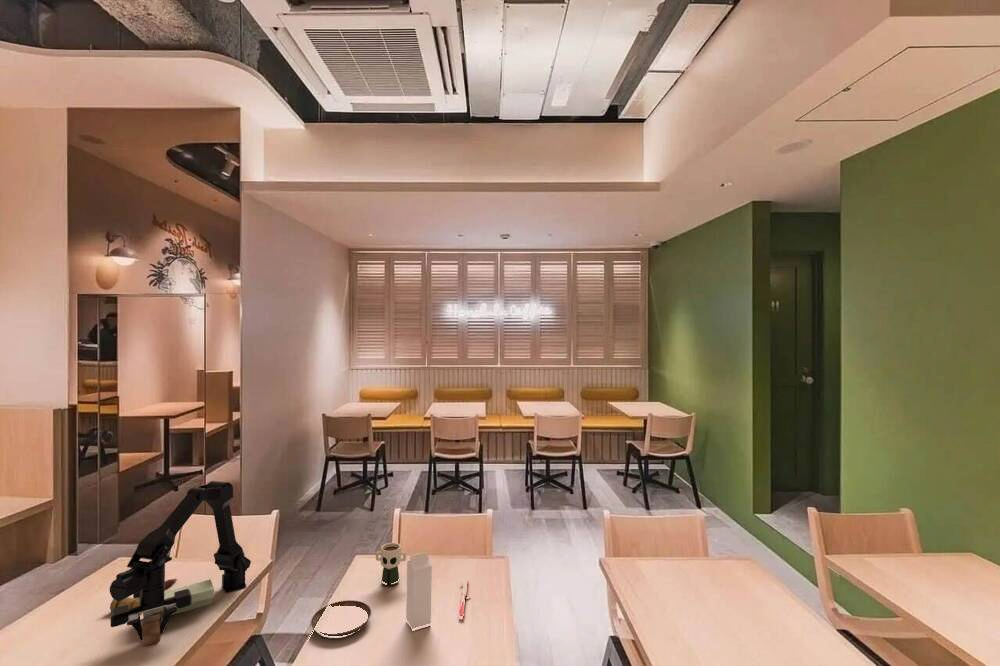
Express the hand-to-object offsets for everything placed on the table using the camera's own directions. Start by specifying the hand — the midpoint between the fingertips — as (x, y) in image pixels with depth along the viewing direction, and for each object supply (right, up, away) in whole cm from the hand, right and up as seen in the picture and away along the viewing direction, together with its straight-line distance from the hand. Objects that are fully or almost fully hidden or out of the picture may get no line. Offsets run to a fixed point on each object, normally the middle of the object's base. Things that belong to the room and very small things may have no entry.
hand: (151, 636), depth 139 cm
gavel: (-17, -2, +23) cm, 28 cm away
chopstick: (+89, -4, +25) cm, 92 cm away
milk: (+75, -3, +11) cm, 76 cm away
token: (-7, -1, +7) cm, 10 cm away
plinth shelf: (-1, -2, +13) cm, 13 cm away
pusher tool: (-2, -1, +4) cm, 5 cm away
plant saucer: (+52, -3, +10) cm, 53 cm away
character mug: (+61, -3, +35) cm, 70 cm away
